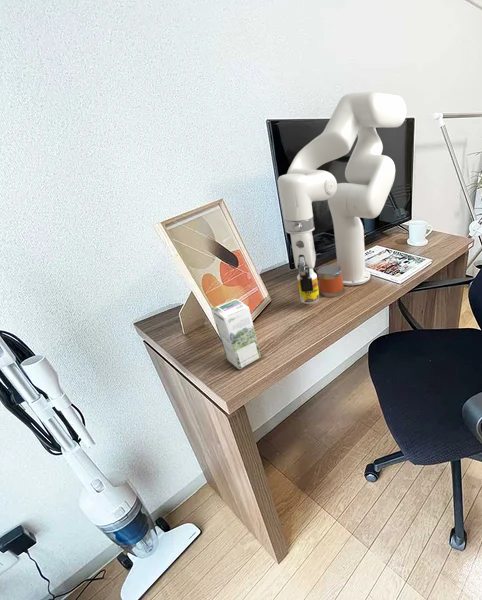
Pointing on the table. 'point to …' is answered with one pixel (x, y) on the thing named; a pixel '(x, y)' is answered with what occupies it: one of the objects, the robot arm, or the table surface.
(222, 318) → the syrup box
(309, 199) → the robot arm
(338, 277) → the tin can
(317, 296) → the supplement bottle
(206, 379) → the table surface
